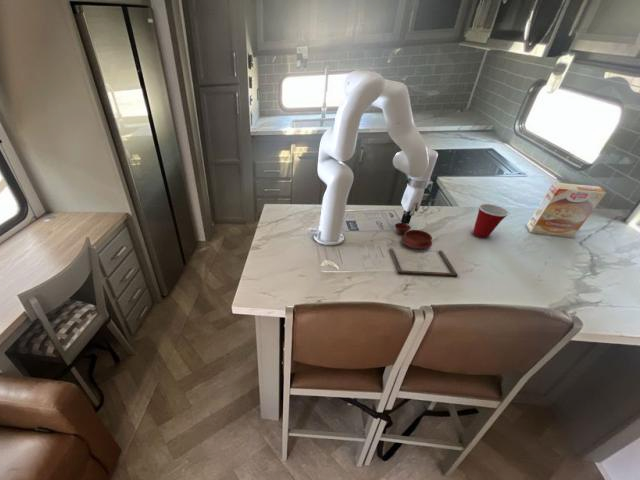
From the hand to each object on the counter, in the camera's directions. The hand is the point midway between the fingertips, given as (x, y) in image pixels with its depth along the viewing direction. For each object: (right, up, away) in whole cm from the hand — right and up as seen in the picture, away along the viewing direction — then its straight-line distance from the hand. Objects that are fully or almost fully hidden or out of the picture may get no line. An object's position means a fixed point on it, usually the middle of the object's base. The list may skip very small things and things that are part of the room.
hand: (404, 222), depth 142 cm
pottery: (-2, -9, -7) cm, 12 cm away
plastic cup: (+30, -7, -6) cm, 31 cm away
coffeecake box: (+59, -5, -6) cm, 60 cm away
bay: (-4, -20, -20) cm, 28 cm away
